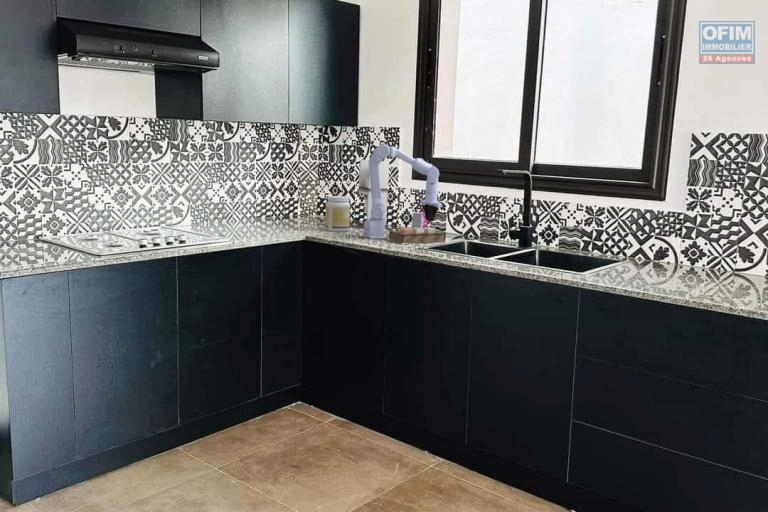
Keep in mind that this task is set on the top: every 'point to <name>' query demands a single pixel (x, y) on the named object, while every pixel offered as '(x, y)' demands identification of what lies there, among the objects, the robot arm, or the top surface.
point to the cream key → (418, 230)
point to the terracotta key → (406, 230)
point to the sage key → (429, 229)
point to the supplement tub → (337, 214)
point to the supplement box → (419, 220)
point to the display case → (366, 187)
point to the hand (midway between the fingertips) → (429, 221)
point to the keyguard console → (417, 237)
